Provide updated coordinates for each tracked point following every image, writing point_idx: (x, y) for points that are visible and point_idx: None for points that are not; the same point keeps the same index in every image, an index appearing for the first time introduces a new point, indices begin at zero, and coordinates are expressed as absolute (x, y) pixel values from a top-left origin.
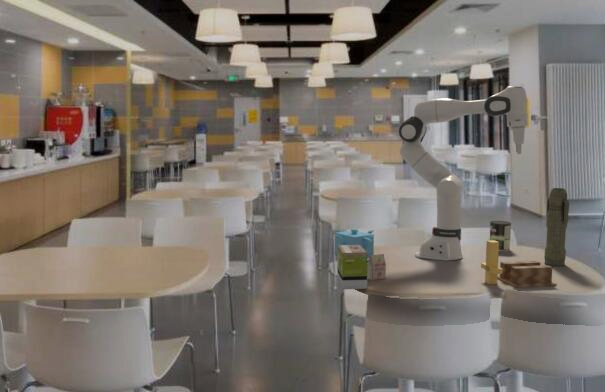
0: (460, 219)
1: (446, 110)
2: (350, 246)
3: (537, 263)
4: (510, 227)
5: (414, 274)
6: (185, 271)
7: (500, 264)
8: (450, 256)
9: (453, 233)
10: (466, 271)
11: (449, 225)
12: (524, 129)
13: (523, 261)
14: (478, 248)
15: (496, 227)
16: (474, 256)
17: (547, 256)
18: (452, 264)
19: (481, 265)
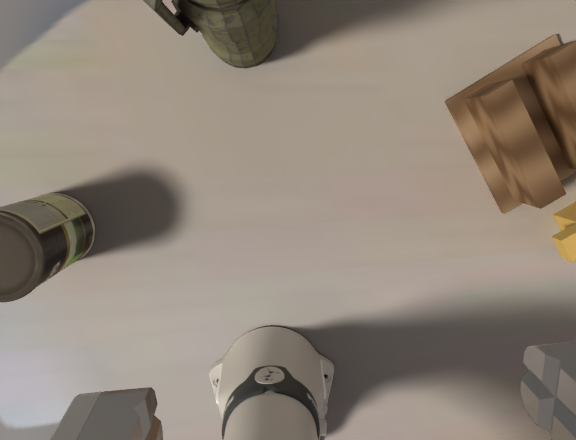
0: (272, 418)
1: None
2: None
3: (515, 90)
4: (9, 209)
5: None
6: None
7: (537, 206)
8: (320, 361)
9: (313, 402)
10: (450, 294)
11: (317, 437)
12: None
13: (512, 136)
14: (80, 297)
15: (50, 266)
16: (225, 295)
17: (266, 54)
18: (371, 341)
19: (568, 259)
